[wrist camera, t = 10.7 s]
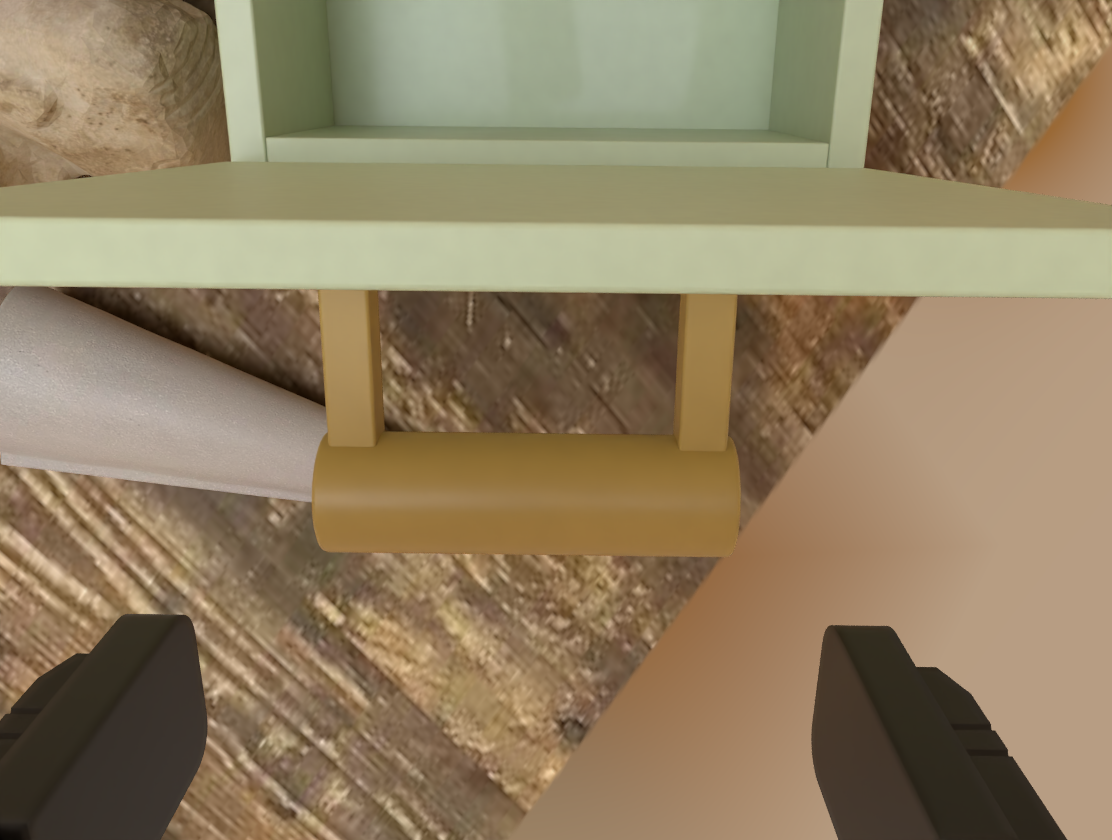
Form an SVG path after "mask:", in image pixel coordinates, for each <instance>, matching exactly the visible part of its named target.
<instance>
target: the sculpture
mask: <svg viewBox="0 0 1112 840" xmlns="http://www.w3.org/2000/svg"><path fill="white" fill-rule="evenodd" d="M218 162H231V155H230V145H229V136H228V126H227V117H226V108H225V98H224V89H223V79H222V70H221V60H220V51H219V41H218V32H217V28H216V26H215V24H214V23H213V21H212V20H211V18H210V17H209V15H208V14H206V13H205V12H203V11H201V10H199V9H198V8H196V7H194V6H192V5H191V4H188V3H186V2H184V1H181V0H0V187H9V186H17V185H26V184H35V183H43V182H52V181H61V180H70V179H75V178H77V177H80V176H82V175H91V176H92V177H96V176H105V175H113V174H122V173H131V172H140V171H148V170H157V169H166V168H174V167H183V166H192V165H201V164H209V163H218Z"/></svg>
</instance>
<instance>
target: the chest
mask: <svg viewBox="0 0 1112 840" xmlns="http://www.w3.org/2000/svg"><path fill="white" fill-rule="evenodd" d="M883 1H884V0H214V3H215V13H216V22H217V32H218V41H219V51H220V60H221V70H222V79H223V89H224V98H225V108H226V117H227V126H228V136H229V145H230V155H231V162H318V163H412V164H507V165H601V166H696V167H790V168H864V163H865V154H866V146H867V137H868V129H869V120H870V112H871V103H872V95H873V86H874V78H875V69H876V61H877V52H878V44H879V35H880V27H881V18H882V10H883Z"/></svg>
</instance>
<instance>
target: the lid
mask: <svg viewBox="0 0 1112 840" xmlns="http://www.w3.org/2000/svg"><path fill="white" fill-rule="evenodd" d="M0 286H42V287H129V288H217V289H304V290H318V300H319V315H320V329H321V344H322V358H323V373H324V387H325V402H326V416H327V431H328V432H327V433H326V434H325V435H324V436H323V438H322V440H321V442H320V445H319V447H318V451H317V454H316V459H315V464H314V470H313V480H312V516H313V524H314V530H315V534H316V538H317V541H318V544H319V546H320V547H321V549H322V550H324V551H326V552H369V553H445V554H521V555H597V556H672V557H729V556H731V555H732V553H733V552H734V549H735V546H736V543H737V538H738V533H739V525H740V511H741V484H740V470H739V461H738V455H737V451H736V448H735V445H734V442H733V440H732V438H731V437H729V436H728V426H729V412H730V398H731V383H732V369H733V355H734V340H735V326H736V312H737V298H738V294H741V295H828V296H916V297H1003V298H1004V297H1005V298H1090V299H1091V298H1092V299H1093V298H1095V299H1100V298H1101V299H1112V205H1107V204H1100V203H1094V202H1087V201H1081V200H1074V199H1067V198H1061V197H1054V196H1047V195H1040V194H1034V193H1028V192H1021V191H1014V190H1008V189H1001V188H994V187H988V186H981V185H975V184H968V183H961V182H955V181H948V180H941V179H935V178H928V177H922V176H915V175H908V174H902V173H895V172H888V171H882V170H875V169H869V168H790V167H696V166H601V165H507V164H412V163H318V162H218V163H209V164H201V165H192V166H183V167H174V168H166V169H157V170H148V171H140V172H131V173H122V174H113V175H105V176H96V177H87V178H78V179H70V180H61V181H52V182H43V183H35V184H26V185H17V186H9V187H0ZM378 290H391V291H479V292H566V293H653V294H681V295H680V314H679V334H678V353H677V373H676V392H675V412H674V432H673V435H636V434H555V433H474V432H394V431H385V428H384V407H383V387H382V367H381V346H380V326H379V305H378Z"/></svg>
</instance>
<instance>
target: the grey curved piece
mask: <svg viewBox="0 0 1112 840" xmlns="http://www.w3.org/2000/svg"><path fill="white" fill-rule="evenodd" d="M327 432H328V431H327V416H326V407H324V406H322V405H320V404H317V403H315V402H313V401H310V400H308V399H306V398H303V397H301V396H299V395H296V394H294V393H292V392H289V391H287V390H285V389H282V388H280V387H278V386H275V385H273V384H271V383H268V382H266V381H264V380H261V379H259V378H257V377H255V376H252V375H250V374H248V373H245V372H243V371H241V370H238V369H236V368H234V367H231V366H229V365H227V364H224V363H222V362H220V361H218V360H215V359H213V358H211V357H208V356H206V355H204V354H202V353H199V352H197V351H195V350H192V349H190V348H188V347H185V346H183V345H180V344H178V343H176V342H173V341H171V340H169V339H166V338H164V337H161V336H159V335H157V334H154V333H152V332H150V331H148V330H145V329H143V328H141V327H138V326H136V325H134V324H131V323H129V322H127V321H125V320H123V319H121V318H119V317H116V316H114V315H112V314H110V313H107V312H105V311H103V310H100V309H98V308H96V307H93V306H91V305H89V304H86V303H84V302H82V301H79V300H77V299H75V298H72V297H70V296H68V295H65V294H63V293H61V292H58V291H56V290H54V289H51V288H49V287H42V286H15V287H14V288H13V289H12V290H11V291H10V292H9V294H8V295H7V296H6V298H5V299H4V301H3V303H2V304H1V306H0V453H1V464H3V465H10V466H18V467H27V468H35V469H43V470H51V471H59V472H67V473H76V474H84V475H92V476H100V477H108V478H117V479H125V480H133V481H141V482H149V483H157V484H166V485H174V486H182V487H190V488H198V489H206V490H215V491H223V492H231V493H239V494H247V495H255V496H264V497H272V498H280V499H288V500H296V501H304V502H312V480H313V470H314V464H315V459H316V454H317V451H318V447H319V445H320V442H321V440H322V438H323V436H324V435H325V434H326V433H327Z"/></svg>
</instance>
